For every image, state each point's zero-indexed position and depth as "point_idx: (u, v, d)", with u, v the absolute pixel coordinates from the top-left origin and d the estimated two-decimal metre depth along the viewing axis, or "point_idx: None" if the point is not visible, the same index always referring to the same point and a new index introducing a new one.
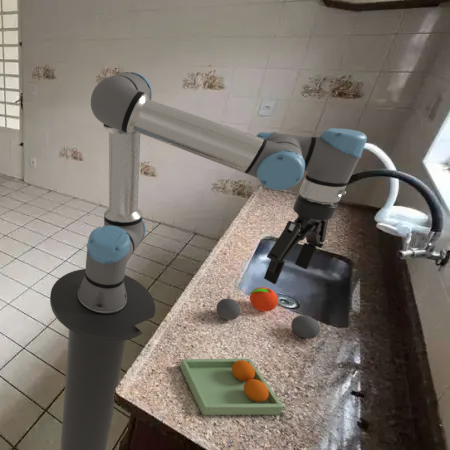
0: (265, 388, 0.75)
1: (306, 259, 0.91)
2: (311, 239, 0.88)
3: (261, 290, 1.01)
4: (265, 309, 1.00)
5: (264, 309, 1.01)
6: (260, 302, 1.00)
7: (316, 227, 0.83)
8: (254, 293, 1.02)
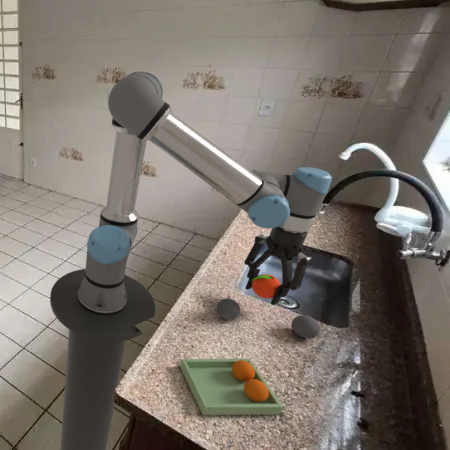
0: (265, 388, 0.75)
1: None
2: (261, 263, 1.00)
3: (264, 277, 0.99)
4: (267, 296, 0.99)
5: (266, 296, 0.99)
6: (262, 289, 0.99)
7: None
8: (256, 280, 1.01)
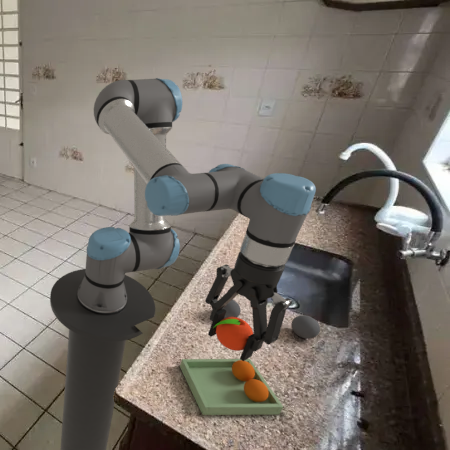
0: (265, 388, 0.75)
1: None
2: (226, 302, 0.74)
3: (230, 322, 0.73)
4: (235, 348, 0.72)
5: (234, 348, 0.73)
6: (228, 339, 0.72)
7: None
8: (221, 325, 0.74)
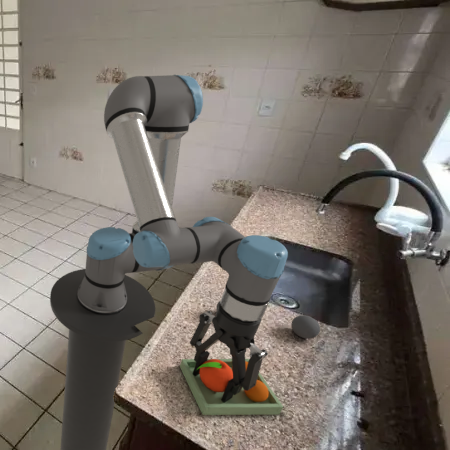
0: (265, 388, 0.75)
1: None
2: (209, 346, 0.78)
3: (212, 365, 0.77)
4: (217, 390, 0.77)
5: (216, 390, 0.77)
6: (210, 381, 0.77)
7: None
8: (204, 368, 0.79)
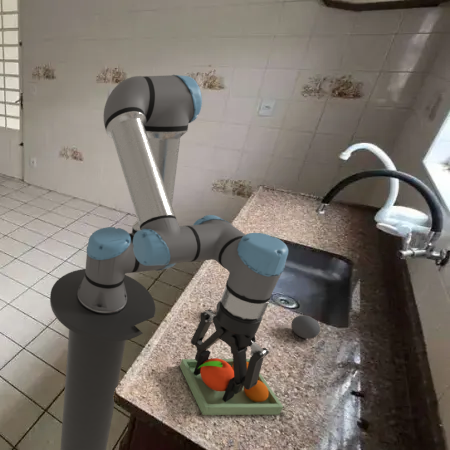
0: (265, 388, 0.75)
1: None
2: (210, 345, 0.78)
3: (213, 364, 0.77)
4: (218, 389, 0.76)
5: (217, 389, 0.77)
6: (211, 380, 0.76)
7: None
8: (205, 367, 0.78)
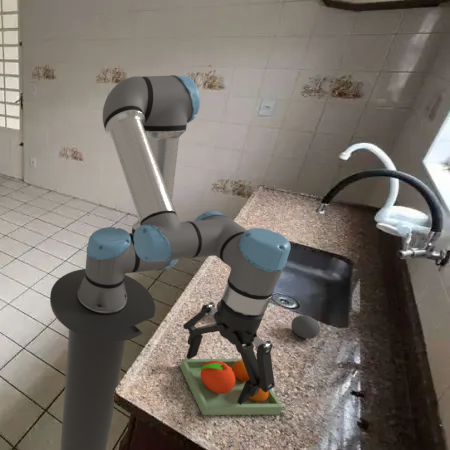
0: None
1: (196, 348, 0.83)
2: None
3: (213, 366, 0.77)
4: (218, 392, 0.77)
5: (217, 392, 0.77)
6: (211, 383, 0.77)
7: None
8: (205, 369, 0.79)
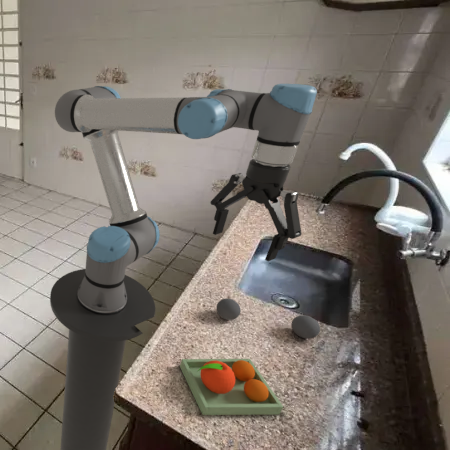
0: (265, 388, 0.75)
1: (223, 224, 0.89)
2: (230, 204, 0.86)
3: (213, 366, 0.77)
4: (218, 392, 0.77)
5: (217, 392, 0.77)
6: (211, 383, 0.77)
7: None
8: (205, 369, 0.79)
